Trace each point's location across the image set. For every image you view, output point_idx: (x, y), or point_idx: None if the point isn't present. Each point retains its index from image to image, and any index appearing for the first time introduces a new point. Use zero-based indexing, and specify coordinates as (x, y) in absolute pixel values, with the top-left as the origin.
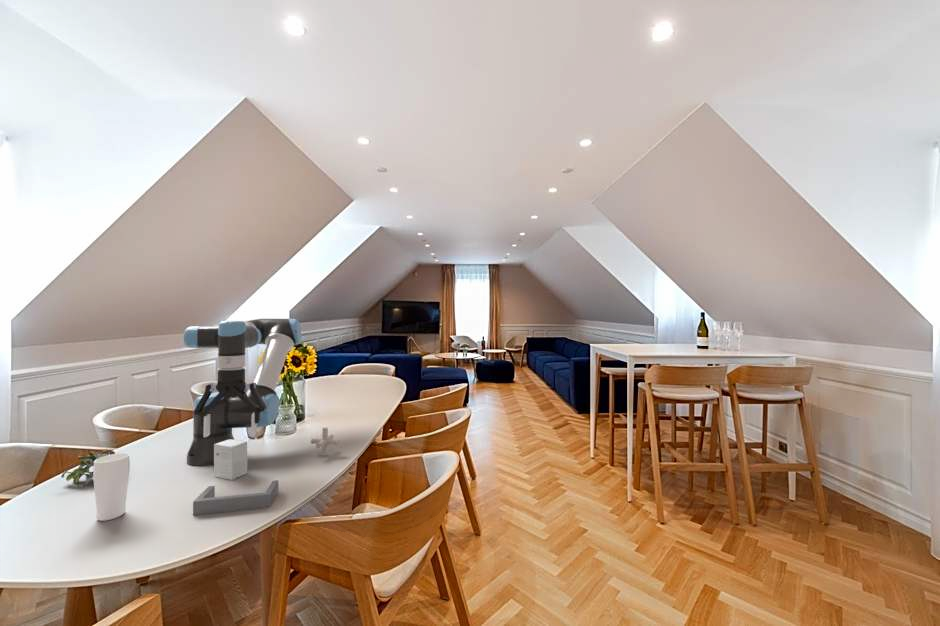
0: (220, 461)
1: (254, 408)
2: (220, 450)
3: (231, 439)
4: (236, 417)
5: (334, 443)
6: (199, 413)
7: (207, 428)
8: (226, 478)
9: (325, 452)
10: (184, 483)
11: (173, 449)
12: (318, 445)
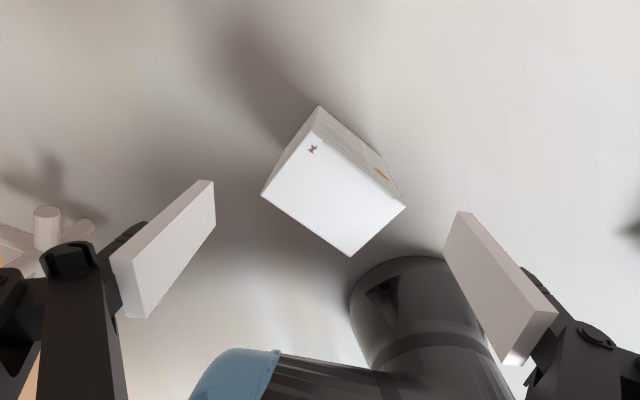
0: (365, 155)
1: (59, 304)
2: (370, 170)
3: (340, 248)
4: (343, 398)
5: (7, 226)
6: (619, 358)
7: (472, 252)
8: (338, 121)
9: (74, 224)
10: (462, 130)
11: (512, 381)
12: (46, 212)
